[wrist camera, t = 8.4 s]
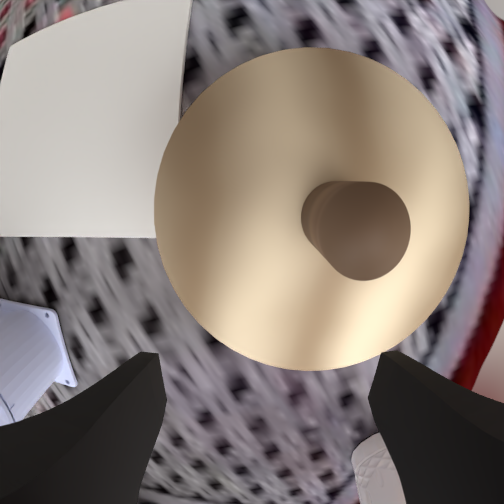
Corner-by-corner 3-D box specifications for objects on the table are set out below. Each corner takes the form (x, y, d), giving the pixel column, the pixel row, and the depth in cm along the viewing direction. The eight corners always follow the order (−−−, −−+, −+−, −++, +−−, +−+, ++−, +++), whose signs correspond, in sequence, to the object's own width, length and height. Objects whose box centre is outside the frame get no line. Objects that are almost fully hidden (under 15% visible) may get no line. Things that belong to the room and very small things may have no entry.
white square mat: (-4, 235, 18) (-7, 236, 17) (13, 47, 13) (10, 46, 13) (178, 236, 18) (176, 238, 17) (194, -9, 13) (193, -12, 13)
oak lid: (179, 362, 14) (158, 420, 10) (159, 63, 11) (122, 20, 6) (436, 341, 14) (476, 382, 10) (450, 83, 11) (502, 63, 6)
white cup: (336, 470, 24) (353, 539, 14) (360, 428, 22) (390, 509, 12) (395, 460, 24) (420, 520, 14) (423, 418, 22) (462, 483, 13)
